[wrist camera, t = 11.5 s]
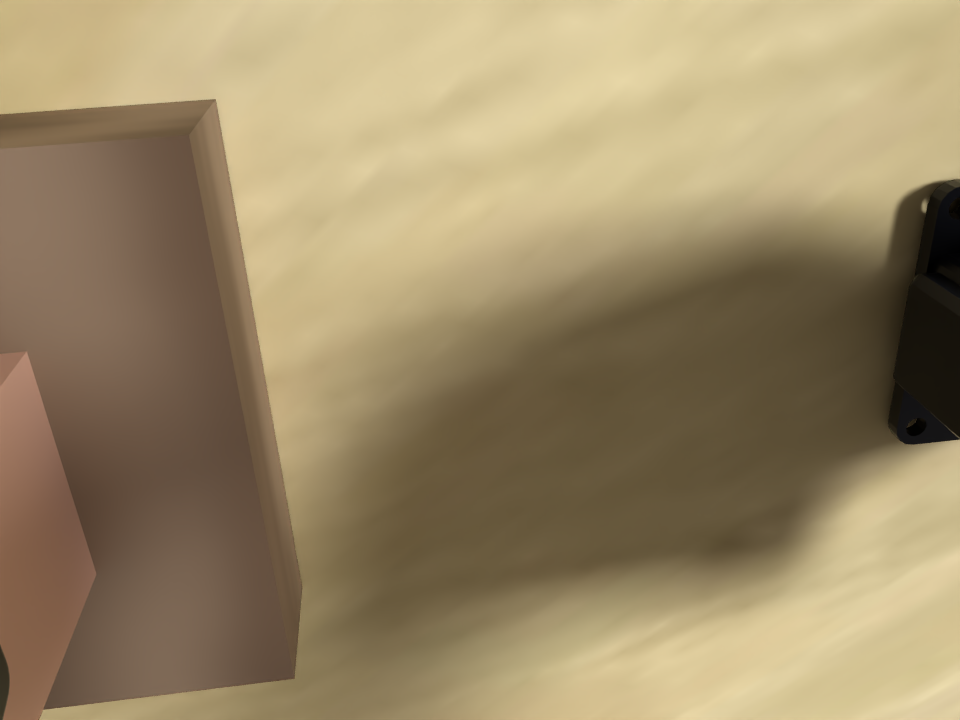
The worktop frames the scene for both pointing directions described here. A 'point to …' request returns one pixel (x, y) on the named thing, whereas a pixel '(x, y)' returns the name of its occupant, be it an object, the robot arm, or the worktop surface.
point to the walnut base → (150, 396)
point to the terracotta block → (35, 545)
